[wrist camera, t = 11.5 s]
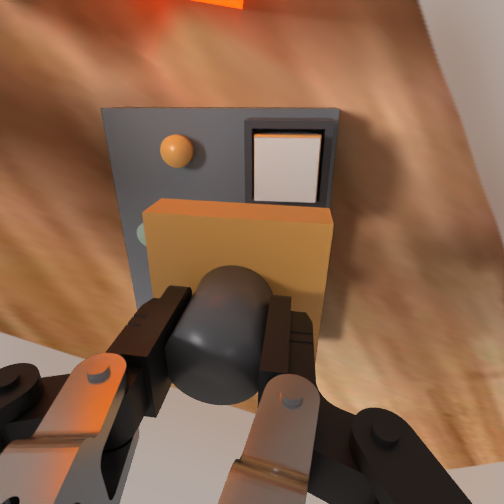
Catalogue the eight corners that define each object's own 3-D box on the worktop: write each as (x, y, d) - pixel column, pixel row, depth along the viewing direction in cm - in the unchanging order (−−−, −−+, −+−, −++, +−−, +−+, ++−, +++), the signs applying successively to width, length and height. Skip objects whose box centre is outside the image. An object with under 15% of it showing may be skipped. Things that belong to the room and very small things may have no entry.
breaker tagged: (259, 185, 26) (252, 202, 22) (260, 129, 24) (252, 136, 20) (313, 187, 26) (316, 204, 22) (318, 130, 24) (322, 136, 20)
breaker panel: (153, 318, 37) (128, 355, 32) (119, 107, 28) (77, 109, 23) (313, 330, 35) (316, 373, 30) (335, 107, 26) (345, 110, 21)
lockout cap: (175, 330, 16) (121, 429, 11) (161, 198, 13) (82, 255, 8) (312, 344, 15) (317, 457, 10) (329, 207, 12) (347, 277, 8)
